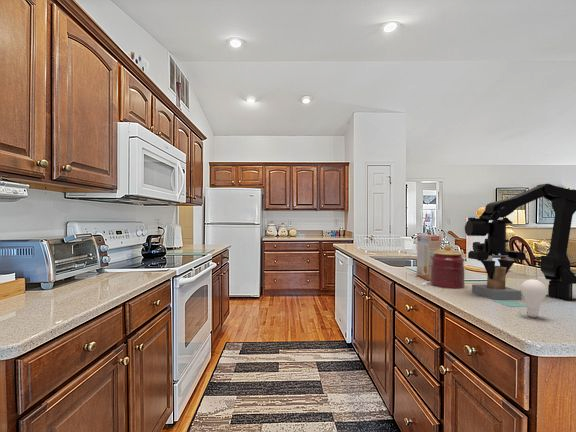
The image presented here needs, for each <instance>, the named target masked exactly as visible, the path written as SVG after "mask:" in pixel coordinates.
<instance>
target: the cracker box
mask: <svg viewBox="0 0 576 432" xmlns="http://www.w3.org/2000/svg"><path fill="white" fill-rule="evenodd" d="M416 240H417V243H416V245H417V247H416V250H417V251H416V276H417V277H418V278H421V279H423V280H426V281H430V282H431V265H432V259H431V257H432V256H434V253H433V252H434V251H436V250H438V249H442V248H441V245H442V243H441V240H442V236H441V235H435V234H423V233H422V234H417V237H416Z"/></svg>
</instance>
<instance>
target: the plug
mask: <svg viewBox="0 0 576 432" xmlns="http://www.w3.org/2000/svg"><path fill="white" fill-rule="evenodd" d="M506 268H507V267H501V266H500V265H495V267H494V274H493V278H492V279H489V277H488V274H487V273H486V275H487V278H486V284H487V287H489V288H492V289H505V287H506V279H507V277H506V275H507V274H506Z"/></svg>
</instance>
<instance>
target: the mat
mask: <svg viewBox="0 0 576 432" xmlns="http://www.w3.org/2000/svg"><path fill="white" fill-rule="evenodd" d="M493 303H498V304H500V305H503V306H506V307H510V308H523V307H524V308H525V307H526V308H527V306H526V303H525V304H524V303H521V302H518V301H516V300H493Z"/></svg>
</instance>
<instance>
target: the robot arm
mask: <svg viewBox="0 0 576 432" xmlns="http://www.w3.org/2000/svg"><path fill="white" fill-rule="evenodd" d="M540 198H544V199H545V200H547V201H550V202H551V207H552V210H553V212H554V217H553V218H554V219H553V225H552V232H551V237H550V245H549V250H548V252H547V254H546V255H540V263H539V264H538V266H539V267H540V271H541V272H542V273H543V276H544V277H545V280H549V281H548V285H547V288H548V289H547V290H548V291H547V293H548V294H546V296H545V297H550V298H554V299H558V300H561V301H576V298H575V297H573V285H576V274H575V273H574V272H573V271H572V270H571V261H570V259H569V257H568V255H567V252H568V246H569V239H570V235H571V227H572V222H573V216H574V214H575V213H576V189H572V188H571V189H569V188H567V187H562V186H557V185H554V184H550V183H542V184H537V185H536V186H534V187H532V188H530V189H528V190H525V191H523V192H521V193H518V194H516V195H514V196H512V197H510V198H507V199H502V200H497V201H492V202H489V203H487V204H486V205H485V209H484V210H483V213H481V215H480V216H479V217H467V221H466V223H465V226H464V232H465V234H466V236H468V237H486V236H487V238H485V239H484V242H483V243H482V242H481V243H480V241H474V242H472V250H470V251H469V252H467V258H468V259H469V260H470V259H471V260H477V261H478V262H480V263H481V264H482V265H483V266H484V269H485V271H486V275H487V274H488V277H489V279H492V278H493V274H494V267H495V266H496V260H493V259H497V261H498V263H499V266H501V267H507V268H506V275H507V274H508V272H509V270H510V269H511V268H512V267H513V265H514V264H515V263H517V261H526V258H527V255H526V253H524V251H517V250H507V243H510V240H509V239H507V225H512V224H513V221H512V220H510V219H509V217H508V216H509V215H511V214H512V213H514V212H515V211H516V209H518V208H520V207H521V206H524V205H527V204H529V203H531V202H533V201H536V200H538V199H540ZM490 221H491V222H490ZM514 259H516V260H514Z"/></svg>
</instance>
